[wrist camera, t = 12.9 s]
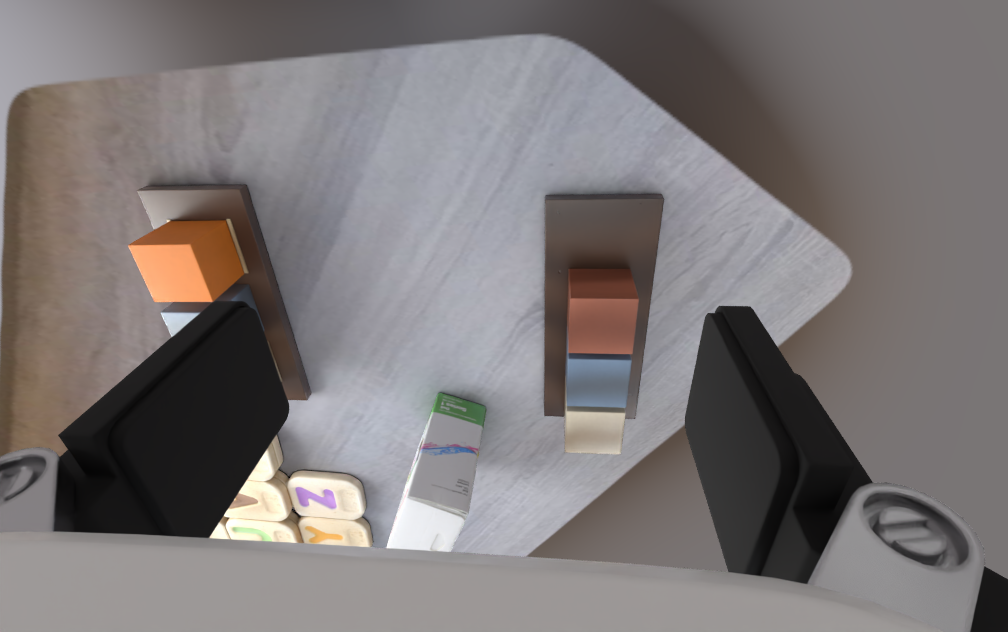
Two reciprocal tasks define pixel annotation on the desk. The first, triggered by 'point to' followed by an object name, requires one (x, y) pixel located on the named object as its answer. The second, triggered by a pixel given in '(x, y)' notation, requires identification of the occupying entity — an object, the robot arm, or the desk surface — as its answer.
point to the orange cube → (188, 261)
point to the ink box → (440, 478)
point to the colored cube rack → (597, 312)
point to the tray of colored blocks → (252, 253)
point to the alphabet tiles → (296, 507)
